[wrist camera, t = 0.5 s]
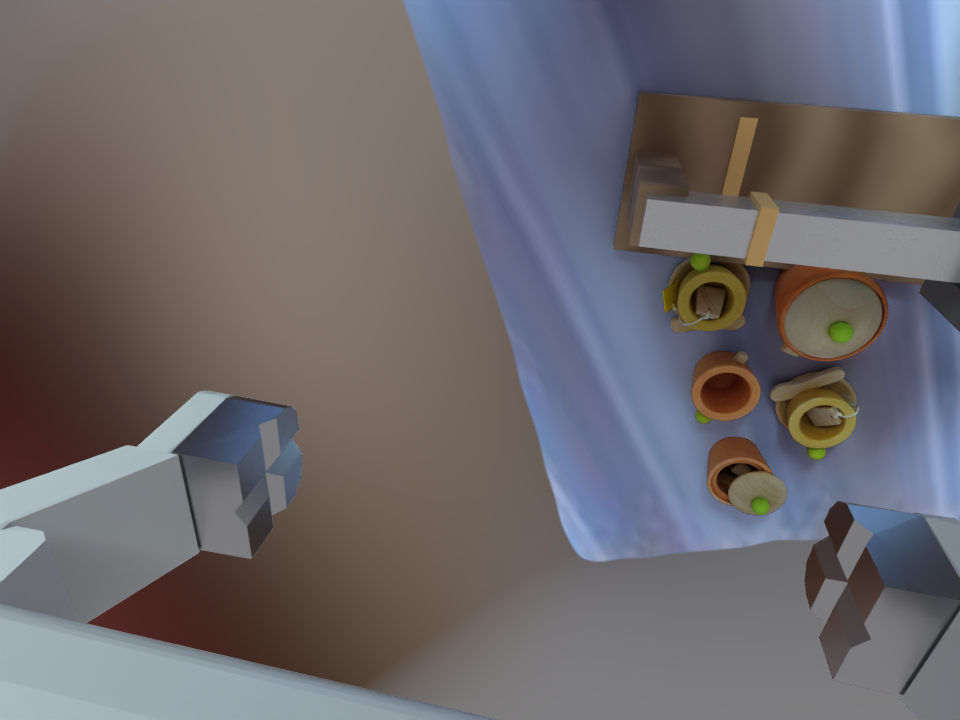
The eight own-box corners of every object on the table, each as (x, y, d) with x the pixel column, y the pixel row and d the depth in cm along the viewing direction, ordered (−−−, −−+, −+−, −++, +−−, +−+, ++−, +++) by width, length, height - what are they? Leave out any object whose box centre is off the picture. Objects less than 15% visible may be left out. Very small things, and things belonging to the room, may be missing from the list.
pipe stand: (613, 243, 54) (611, 310, 42) (639, 91, 48) (644, 120, 36) (1000, 287, 49) (1118, 376, 38) (1081, 126, 43) (1252, 172, 32)
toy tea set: (654, 248, 54) (659, 292, 45) (858, 207, 49) (906, 248, 41) (693, 486, 65) (704, 556, 57) (863, 471, 60) (901, 546, 52)
